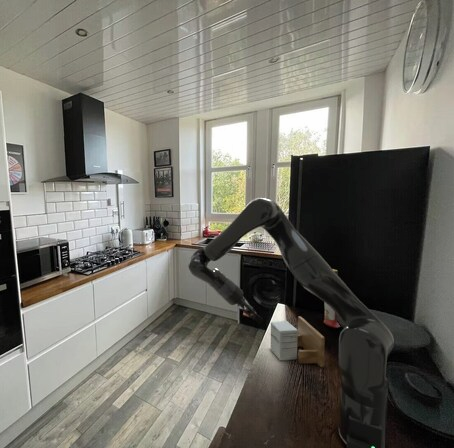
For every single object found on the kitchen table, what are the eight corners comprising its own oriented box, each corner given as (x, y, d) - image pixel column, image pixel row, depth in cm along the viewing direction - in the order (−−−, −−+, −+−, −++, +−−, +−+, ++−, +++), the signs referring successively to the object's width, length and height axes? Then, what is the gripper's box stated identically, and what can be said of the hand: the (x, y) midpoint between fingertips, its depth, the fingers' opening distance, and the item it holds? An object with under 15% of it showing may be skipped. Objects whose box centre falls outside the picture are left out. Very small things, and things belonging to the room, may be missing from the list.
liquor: (319, 323, 123) (320, 268, 119) (331, 321, 124) (333, 267, 121) (332, 330, 116) (334, 273, 112) (345, 328, 117) (347, 271, 113)
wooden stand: (303, 367, 93) (303, 338, 92) (282, 342, 109) (282, 316, 107) (323, 367, 93) (324, 337, 91) (300, 342, 109) (300, 316, 107)
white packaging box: (269, 349, 104) (270, 321, 103) (286, 348, 105) (287, 320, 103) (279, 361, 97) (279, 331, 96) (297, 359, 98) (298, 329, 96)
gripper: (240, 290, 91) (272, 319, 92) (230, 277, 105) (257, 302, 106) (226, 304, 92) (257, 333, 93) (217, 289, 106) (245, 314, 107)
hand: (257, 316), depth 100 cm, fingers open, 7 cm apart
